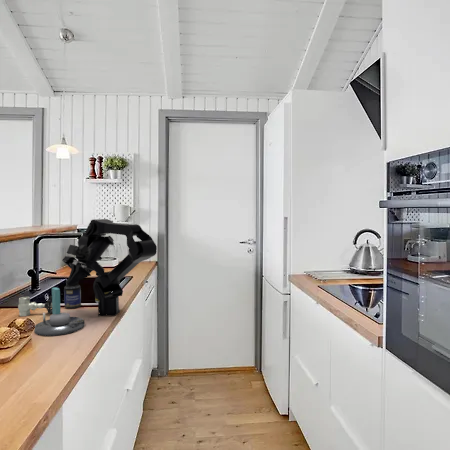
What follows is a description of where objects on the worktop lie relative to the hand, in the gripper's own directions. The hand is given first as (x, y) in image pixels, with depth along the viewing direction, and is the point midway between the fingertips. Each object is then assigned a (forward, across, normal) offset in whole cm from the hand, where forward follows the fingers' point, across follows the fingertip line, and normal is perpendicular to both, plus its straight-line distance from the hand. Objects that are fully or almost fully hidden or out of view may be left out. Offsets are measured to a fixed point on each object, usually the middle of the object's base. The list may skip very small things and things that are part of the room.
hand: (67, 284), depth 126 cm
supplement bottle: (-6, -12, +26) cm, 29 cm away
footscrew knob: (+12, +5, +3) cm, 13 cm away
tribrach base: (+13, +6, +4) cm, 15 cm away
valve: (+12, -17, +8) cm, 22 cm away
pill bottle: (+2, -14, +17) cm, 23 cm away
